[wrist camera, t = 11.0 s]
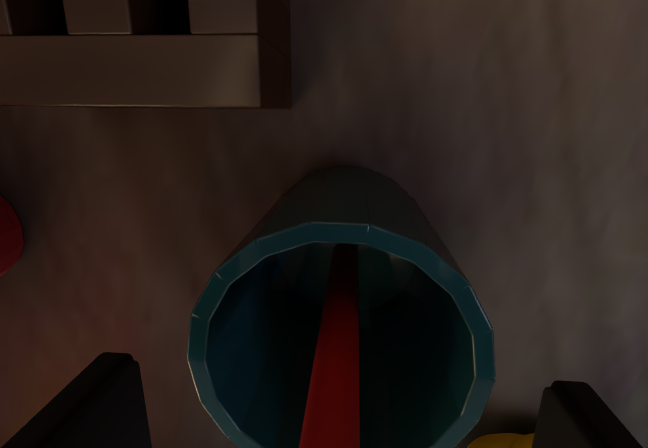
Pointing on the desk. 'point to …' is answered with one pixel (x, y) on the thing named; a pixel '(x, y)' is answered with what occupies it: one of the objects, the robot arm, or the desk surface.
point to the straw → (336, 361)
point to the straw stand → (145, 53)
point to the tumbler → (374, 320)
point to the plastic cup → (9, 236)
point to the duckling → (503, 441)
